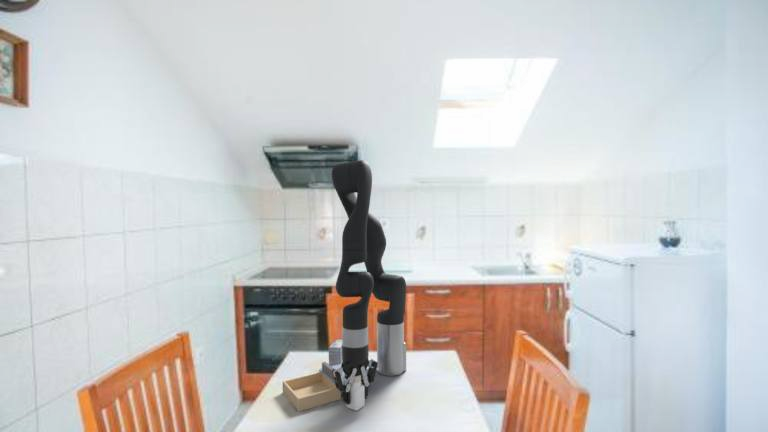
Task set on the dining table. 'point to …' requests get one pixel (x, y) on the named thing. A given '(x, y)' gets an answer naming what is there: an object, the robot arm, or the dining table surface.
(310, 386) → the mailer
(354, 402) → the pepper shaker
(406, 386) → the dining table surface
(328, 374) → the lid
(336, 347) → the medicine box
